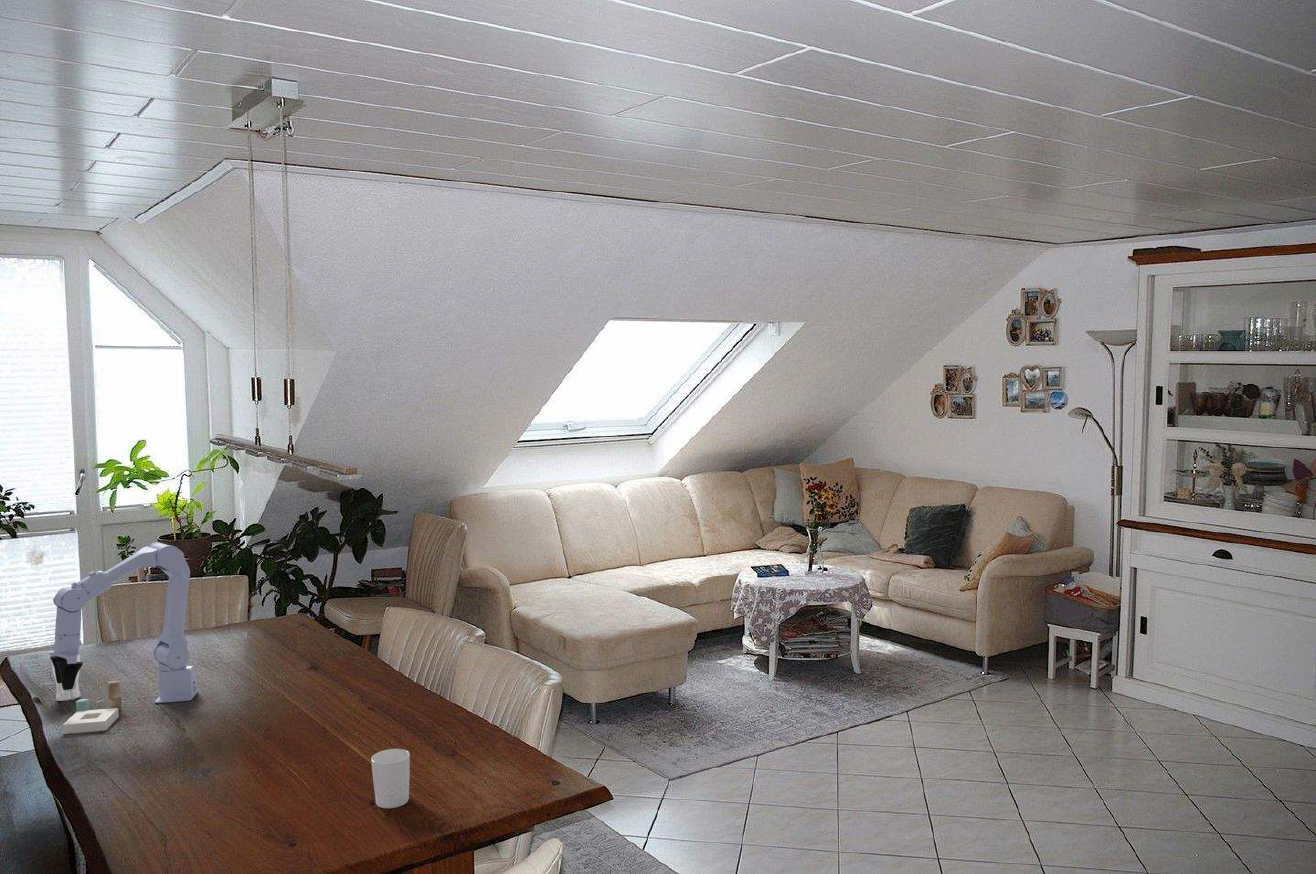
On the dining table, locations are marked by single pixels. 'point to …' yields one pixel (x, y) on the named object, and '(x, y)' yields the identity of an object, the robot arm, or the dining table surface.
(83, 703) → the short teal pin
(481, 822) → the dining table surface
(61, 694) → the beer glass
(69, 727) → the collar block
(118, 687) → the long beech pin
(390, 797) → the white cup
